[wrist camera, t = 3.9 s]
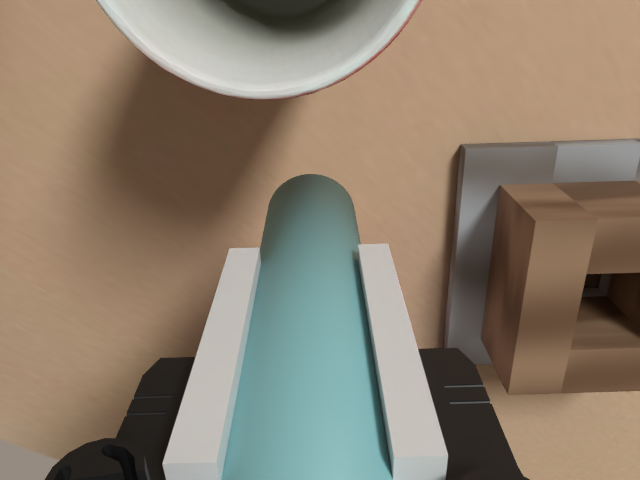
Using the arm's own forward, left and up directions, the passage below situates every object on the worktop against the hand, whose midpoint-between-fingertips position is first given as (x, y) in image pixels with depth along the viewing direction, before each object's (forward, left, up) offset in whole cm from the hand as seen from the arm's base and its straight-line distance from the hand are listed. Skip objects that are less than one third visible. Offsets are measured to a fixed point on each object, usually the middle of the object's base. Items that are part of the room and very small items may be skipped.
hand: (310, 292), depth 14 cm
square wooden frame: (+7, +15, -16) cm, 23 cm away
